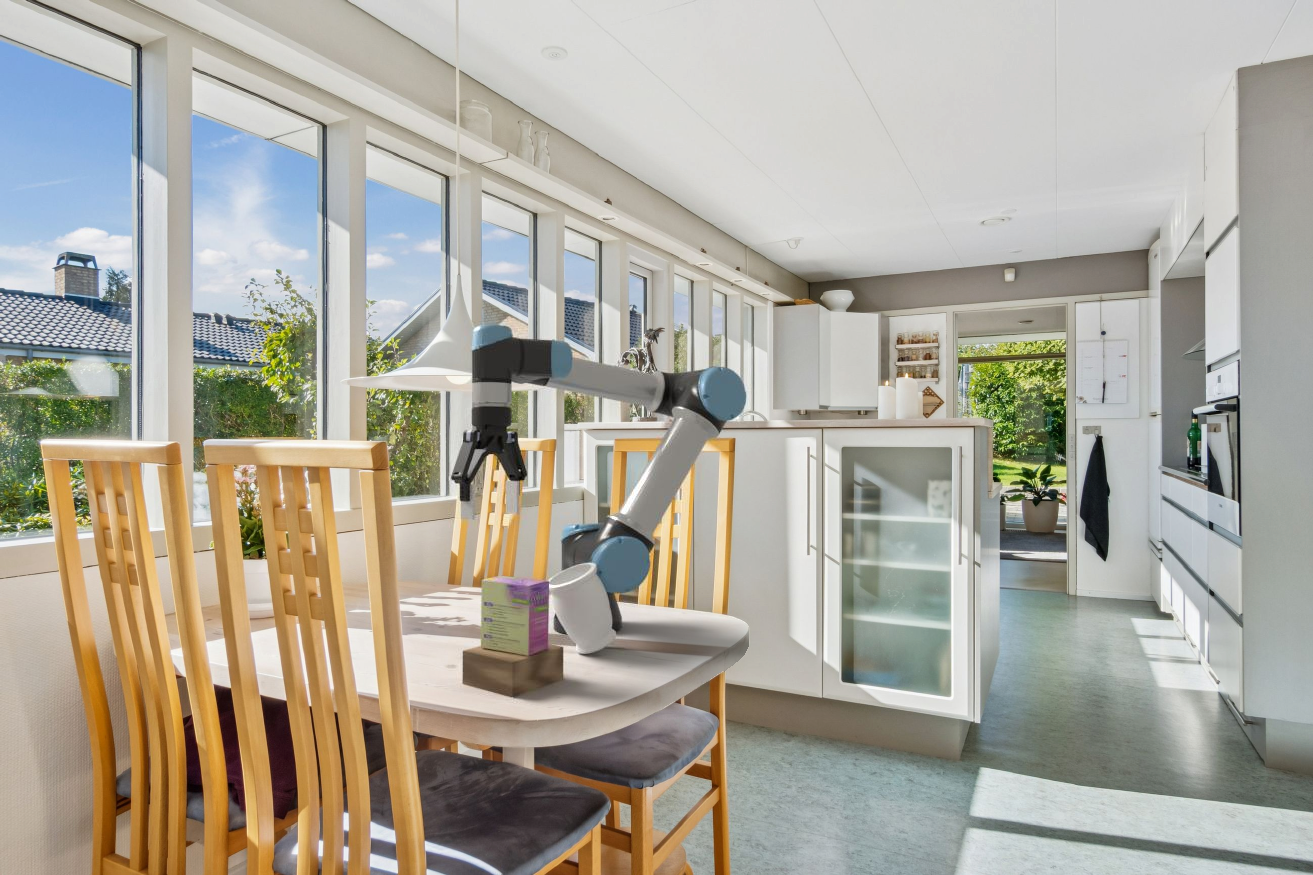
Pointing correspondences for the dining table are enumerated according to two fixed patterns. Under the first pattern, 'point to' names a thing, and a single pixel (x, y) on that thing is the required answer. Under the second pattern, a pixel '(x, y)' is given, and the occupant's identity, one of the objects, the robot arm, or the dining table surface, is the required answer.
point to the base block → (511, 670)
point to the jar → (583, 607)
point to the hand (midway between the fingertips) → (491, 516)
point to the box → (515, 615)
